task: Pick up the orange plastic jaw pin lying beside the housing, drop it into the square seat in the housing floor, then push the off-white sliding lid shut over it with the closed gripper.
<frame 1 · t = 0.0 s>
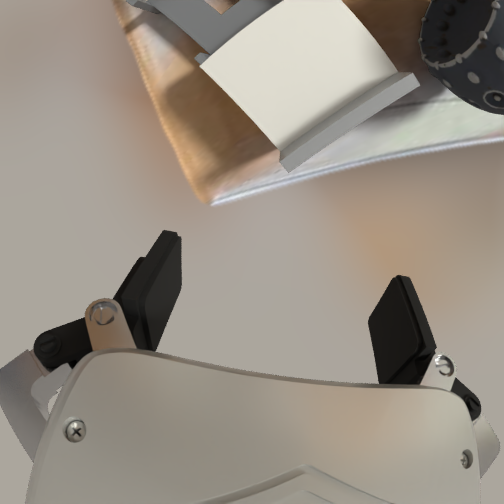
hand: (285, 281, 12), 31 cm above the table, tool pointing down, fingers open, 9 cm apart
lid: (306, 65, 23), point 10 cm above the table, slide at 15.0 cm
studded black wheel: (445, 39, 24), on the table
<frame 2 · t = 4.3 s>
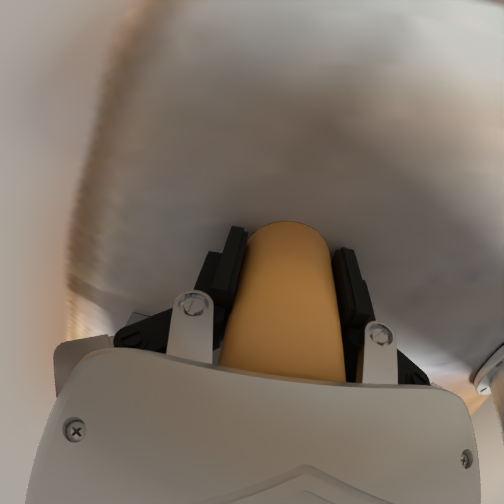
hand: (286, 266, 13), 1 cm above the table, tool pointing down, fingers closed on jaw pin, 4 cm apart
jaw pin: (286, 259, 13), on the table, touching gripper
when the fingers open (5 cm above the table, at t = 9.2 s): jaw pin drops 4 cm, resting in housing.
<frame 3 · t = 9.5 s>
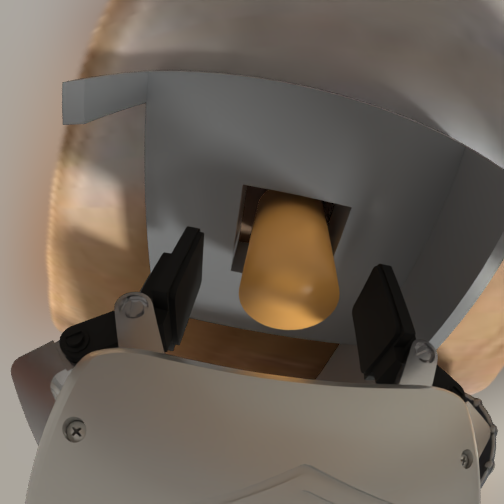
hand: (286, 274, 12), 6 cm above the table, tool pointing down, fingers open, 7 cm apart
housing: (287, 213, 17), on the table
jaw pin: (290, 213, 17), resting in housing
studded black wheel: (411, 395, 30), on the table
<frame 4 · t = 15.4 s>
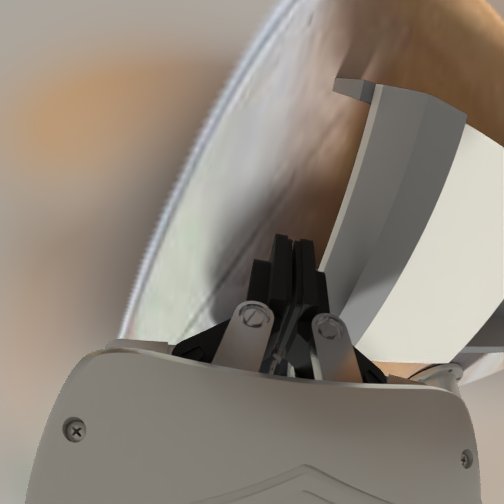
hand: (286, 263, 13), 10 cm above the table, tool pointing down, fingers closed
lid: (451, 297, 12), point 10 cm above the table, slide at 14.5 cm, touching gripper
housing: (501, 245, 21), on the table
studded black wheel: (262, 354, 35), on the table
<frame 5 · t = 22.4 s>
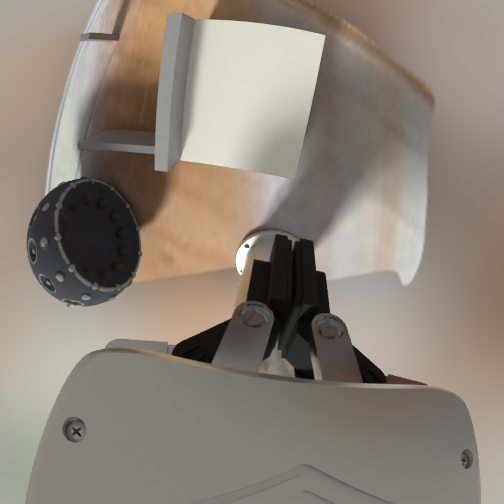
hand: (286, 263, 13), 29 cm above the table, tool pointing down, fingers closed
lid: (237, 95, 25), point 10 cm above the table, slide at 0.0 cm
housing: (249, 90, 33), on the table
studded black wheel: (114, 211, 47), on the table
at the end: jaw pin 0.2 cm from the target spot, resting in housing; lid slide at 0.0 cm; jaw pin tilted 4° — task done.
